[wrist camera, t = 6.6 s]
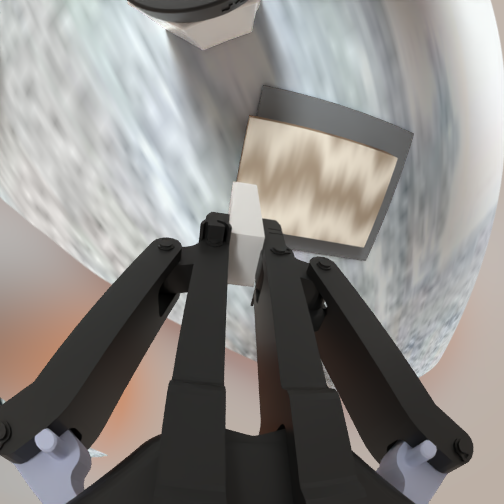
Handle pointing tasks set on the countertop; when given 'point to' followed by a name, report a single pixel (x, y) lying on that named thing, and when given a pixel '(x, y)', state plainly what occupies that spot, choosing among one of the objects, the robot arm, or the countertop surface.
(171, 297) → the robot arm
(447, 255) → the countertop surface
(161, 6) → the jar
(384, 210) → the mat
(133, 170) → the countertop surface
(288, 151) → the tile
